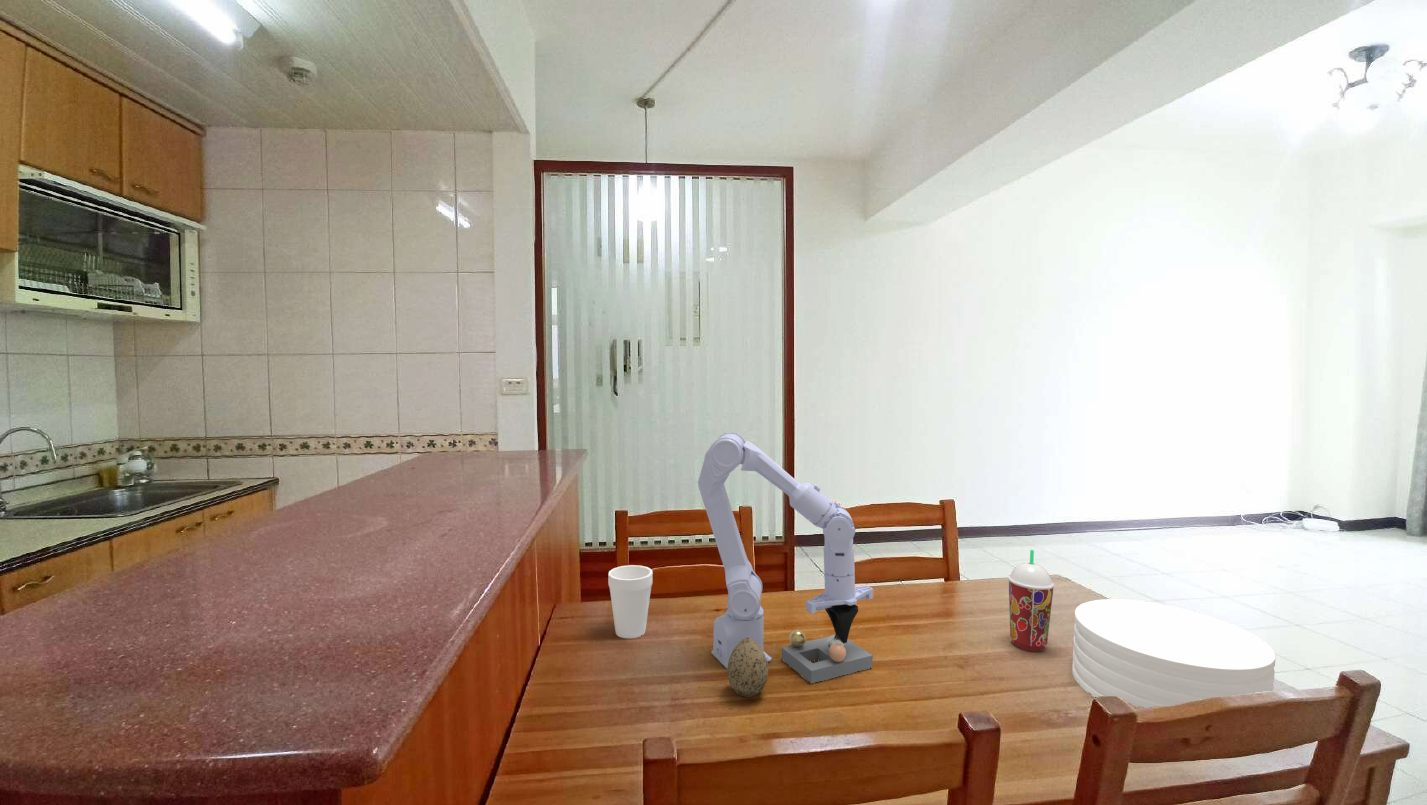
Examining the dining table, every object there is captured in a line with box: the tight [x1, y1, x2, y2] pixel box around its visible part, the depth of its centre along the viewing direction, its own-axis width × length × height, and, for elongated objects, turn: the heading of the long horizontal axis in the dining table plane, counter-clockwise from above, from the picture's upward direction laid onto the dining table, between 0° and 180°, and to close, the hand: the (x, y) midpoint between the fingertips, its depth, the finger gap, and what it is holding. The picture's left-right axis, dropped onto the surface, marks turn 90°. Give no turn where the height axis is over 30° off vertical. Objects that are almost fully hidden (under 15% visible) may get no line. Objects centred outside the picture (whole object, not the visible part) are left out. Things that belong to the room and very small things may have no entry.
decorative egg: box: [726, 638, 769, 698], centre depth 103 cm, size 7×7×10 cm
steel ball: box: [827, 634, 844, 648], centre depth 114 cm, size 3×3×3 cm
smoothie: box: [1007, 549, 1055, 652], centre depth 123 cm, size 8×8×20 cm
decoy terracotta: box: [829, 643, 846, 662], centre depth 111 cm, size 3×3×3 cm
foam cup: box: [607, 564, 654, 639], centre depth 127 cm, size 10×9×13 cm
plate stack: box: [1071, 598, 1277, 708], centre depth 106 cm, size 28×28×12 cm
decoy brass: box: [788, 629, 807, 647], centre depth 116 cm, size 3×3×3 cm
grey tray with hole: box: [780, 635, 874, 684], centre depth 114 cm, size 14×10×2 cm
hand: (841, 641), depth 115 cm, fingers closed, pressing on steel ball
